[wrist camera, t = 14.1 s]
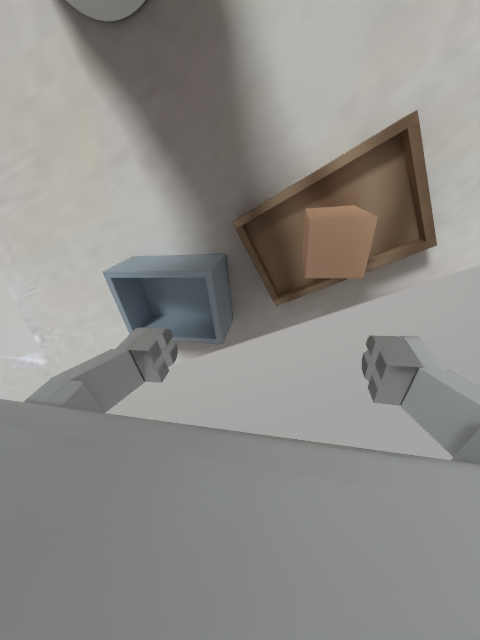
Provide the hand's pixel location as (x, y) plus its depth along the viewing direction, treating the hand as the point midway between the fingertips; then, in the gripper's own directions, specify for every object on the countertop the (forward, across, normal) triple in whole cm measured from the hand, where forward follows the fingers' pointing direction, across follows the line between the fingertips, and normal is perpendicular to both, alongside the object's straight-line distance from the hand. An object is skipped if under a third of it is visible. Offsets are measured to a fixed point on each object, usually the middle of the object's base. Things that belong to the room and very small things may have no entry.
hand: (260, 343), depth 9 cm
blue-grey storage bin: (+22, +15, +8) cm, 28 cm away
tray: (+22, -5, 0) cm, 22 cm away
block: (+21, -5, 0) cm, 21 cm away
